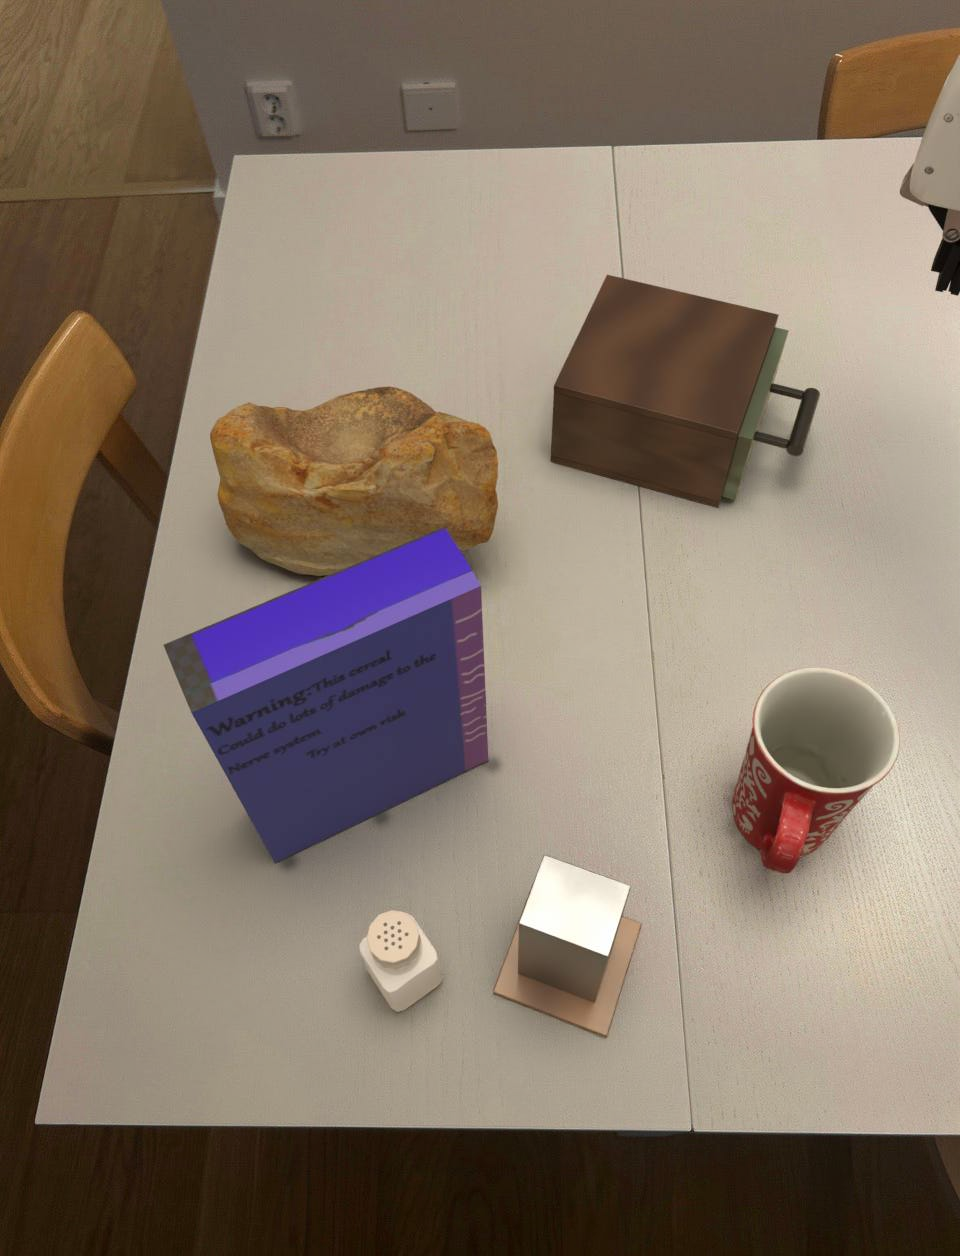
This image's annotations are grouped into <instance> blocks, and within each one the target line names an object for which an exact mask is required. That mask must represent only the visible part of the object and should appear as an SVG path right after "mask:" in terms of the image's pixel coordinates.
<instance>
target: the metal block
mask: <svg viewBox="0 0 960 1256" xmlns="http://www.w3.org/2000/svg"><path fill="white" fill-rule="evenodd" d="M532 885H533V886H532ZM532 885H531V888H530V890H531V891H529V893H530V894H529V893H528V896H529V897H528V896H527V898H528V899H526V901H527V902H526V901H525V904H526V905H525V904H524V907H523V909H524V910H523V909H522V912H523V913H522V912H521V915H522V916H521V915H520V917H521V918H519V920H520V921H519V920H518V923H519V939H518V973H519V974H521V975H524V976H526V977H529V978H532V979H534V980H537V981H539V982H542V983H545V984H547V985H550V986H552V987H555V988H558V989H560V990H563V991H565V992H568V993H570V994H573V995H576V996H578V997H581V998H583V999H586V1000H589V1001H591V1002H594V1003H595V1002H596V999H597V996H598V993H599V989H600V986H601V983H602V980H603V977H604V974H605V971H606V967H607V964H608V961H609V958H610V955H611V952H612V949H613V945H614V942H615V939H616V936H617V932H618V929H619V925H620V922H621V919H622V916H624V912H625V909H626V908H625V907H626V905H627V902H628V898H629V895H630V892H631V889H632V886H631V885H630V884H627V883H624V882H622V881H619V880H616V879H614V878H611V877H609V876H605V875H602V874H599V873H596V872H594V871H591V870H588V869H585V868H583V867H580V866H577V865H574V864H571V863H569V862H566V861H563V860H561V859H557V858H556V857H553V856H549V855H547V854H544V855H543V856H542V859H541V862H540V864H539V867H538V870H537V872H536V875H535V878H534V880H533V883H532Z"/></svg>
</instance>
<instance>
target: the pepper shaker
mask: <svg viewBox="0 0 960 1256" xmlns="http://www.w3.org/2000/svg"><path fill="white" fill-rule="evenodd" d="M358 949H359V954H360V956H361V958H362V961H363V963H364V965H365V967H366V970H367V972H368V975H369V976H370V977H371V979H372V980H373V982H374V983H375V985H376V986H377V988H378V990H379V991H380V993H381V995H382V996H383V998H384V1000H385V1001H386V1003H387V1004H388V1005H389V1007H390V1009H392V1010H393V1011H395V1012H396V1013H399V1012H404V1011H405V1010H407V1009H408V1008H409V1007H411V1006H412V1005H414V1004H415V1003H417V1002H418V1001H419V1000H421V999H422V998H423V997H425V996H427V995H428V994H429V993H430V992H431V991H433V990H435V989H436V988H437V987H439V985H440V984H441V983H442V981H443V975H442V971H441V967H440V961H439V957H438V953H437V950H436V948H435V947H434V946H433V943H431V941H430V939H429V938H428V936H427V935H426V934H425V932H424V930H423V929H422V928H421V926H420V924H419V923H418V922H417V920H416V919H415V917H414V916H413V915H411V914H410V913H407V912H405V911H400V910H394V909H390V910H387V911H385V912H382V913H379V914H378V915H377V916H376V917H375V918H374V919H373V920H372V921H371V923H370V924H369V926H368V931H367V935H366V936H364V937H363V938H362V940H361V941H360V943H359V944H358Z"/></svg>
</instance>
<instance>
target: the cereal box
mask: <svg viewBox="0 0 960 1256" xmlns="http://www.w3.org/2000/svg"><path fill="white" fill-rule="evenodd" d="M483 620H484V619H483V600H482V585H481V583H480V581H479V580H478V578H477V577H476V575H475V572H474V571H473V569H472V568H471V566H470V564H469V563H468V561H467V559H466V557H465V556H464V554H463V552H461V551H460V550H459V548H458V547H457V545H456V544H455V542H454V541H453V539H452V538H451V536H450V535H449V533H448V532H447V530H446V529H445V527H442V528H440V529H438V530H435V531H433V532H431V533H428V534H426V535H423V536H421V537H419V538H416V539H414V540H412V541H409V542H407V543H404V544H402V545H400V546H397V547H395V548H392V549H390V550H388V551H385V552H383V553H381V554H378V555H376V556H373V557H371V558H369V559H366V560H364V561H362V562H359V563H357V564H354V565H352V566H350V567H347V568H345V569H343V570H340V571H338V572H335V573H333V574H331V575H325V576H322V577H321V578H319V579H317V580H314V581H312V582H309V583H306V584H305V585H302V586H299V587H298V588H294V589H293V590H291V591H290V590H289V591H288V592H286V593H283V594H281V595H278V596H276V597H274V598H271V599H268V600H267V601H264V602H262V603H259V604H257V605H254V606H252V607H250V608H247V609H245V610H243V611H240V612H238V613H235V614H233V615H230V616H228V617H226V618H224V619H222V620H219V621H216V622H214V623H212V624H210V625H207V626H205V627H202V628H200V629H197V630H195V631H193V632H190V633H188V634H185V635H183V636H181V637H178V638H176V639H174V640H172V641H169V642H167V643H163V649H164V650H165V652H166V655H167V658H168V660H169V662H170V665H171V668H172V670H173V672H174V675H175V678H176V679H177V682H178V684H179V687H180V689H181V692H182V694H183V697H184V699H185V701H186V703H187V706H188V709H189V710H190V713H191V715H192V716H193V718H194V720H195V722H196V724H197V726H198V727H199V729H200V731H201V733H202V734H203V737H204V738H205V740H206V742H207V744H208V746H209V747H210V749H211V751H212V752H213V754H214V756H215V758H216V760H217V762H218V763H219V765H220V767H221V770H222V771H223V773H224V774H225V776H226V778H227V780H228V781H229V783H230V785H231V787H232V790H233V791H234V793H235V794H236V796H237V798H238V799H239V801H240V803H241V805H242V807H243V809H244V810H245V813H246V815H247V816H248V818H249V820H250V821H251V823H252V825H253V827H254V829H255V831H256V833H257V834H258V836H259V838H260V839H261V841H262V843H263V845H264V846H265V848H266V850H267V852H268V854H269V855H270V858H271V859H272V861H273V863H274V865H275V864H279V863H281V862H282V861H284V860H286V859H288V858H291V857H292V856H295V855H296V854H298V853H301V852H303V851H305V850H307V849H309V848H311V847H313V846H316V845H318V844H320V843H322V842H324V841H326V840H328V839H330V838H332V837H334V836H336V835H338V834H340V833H343V832H344V831H347V830H349V829H351V828H353V827H355V826H357V825H360V824H362V823H363V822H365V821H367V820H370V819H372V818H373V817H376V816H378V815H380V814H382V813H385V812H386V811H388V810H390V809H392V808H395V807H397V806H399V805H401V804H403V803H405V802H406V801H410V800H411V799H413V798H415V797H418V796H419V795H422V794H424V793H426V792H428V791H430V790H432V789H434V788H436V787H438V786H440V785H443V784H445V783H447V782H449V781H451V780H454V779H455V778H457V777H459V776H461V775H463V774H465V773H468V772H469V771H472V770H474V769H476V768H477V767H480V766H482V765H484V764H487V763H488V762H489V741H488V739H489V738H488V721H487V720H488V717H487V716H488V715H487V694H486V692H487V691H486V670H485V669H486V668H485V651H484V650H485V649H484V648H485V647H484V646H485V645H484V644H485V643H484V623H483Z"/></svg>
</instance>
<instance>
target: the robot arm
mask: <svg viewBox="0 0 960 1256" xmlns="http://www.w3.org/2000/svg"><path fill="white" fill-rule="evenodd" d="M946 77H947V78H946V79H945V82H944V84H943V86H942V89H940V90H941V91H940V93H939V95H938V98H937V100H936V102H935V104H934V106H933V109H932V112H931V114H930V116H929V119H928V121H927V124H926V126H925V129H924V132H923V134H922V137H921V140H920V143H919V147H918V149H917V152H916V155H915V159H914V162H913V163H912V164H911V166H910V167H909V169H908V170H907V172H906V174H905V175H904V177H903V179H902V181H901V185H900V188H899V195H900V196H901V197H902V198H903V199H905V200H907V201H910V202H912V203H915V204H917V205H919V206H922V207H924V206H925V207H927V208H928V211H929V212H930V213H931V215H932V216H933V218H934V220H935V221H936V223H937V225H938V226H939V227H940V229H941V231H942V237H941V240H940V243H939V245H938V247H937V250H936V252H935V255H934V258H933V260H932V264H931V268H930V271H931V272H934V273H938V277H937V279H936V284H935V288H934V291H935V292H938V293H939V292H940V293H944V291H945V292H946V291H947V290H948V292H949V293H950V295H953V296H959V295H960V53H958V56H957V58H956V60H955V62H954V63H953V65H952V68H951V70H950V72H949V74H948V75H947V76H946Z"/></svg>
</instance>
